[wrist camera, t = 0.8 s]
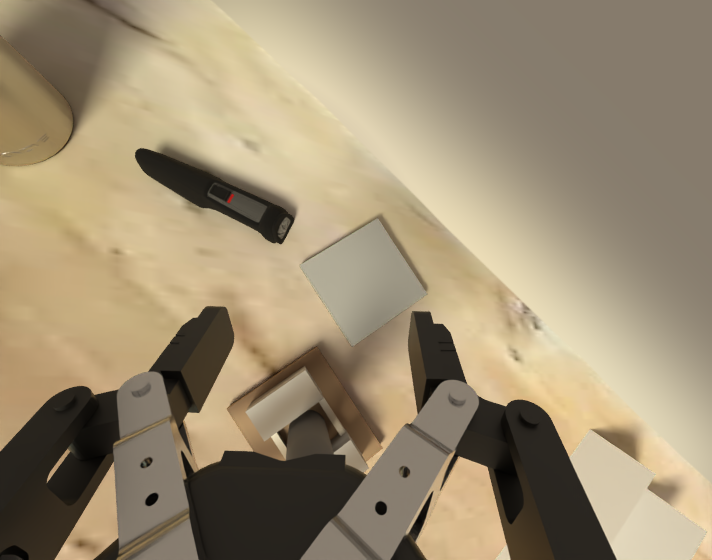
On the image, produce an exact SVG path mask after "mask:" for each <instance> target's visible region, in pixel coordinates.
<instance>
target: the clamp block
mask: <svg viewBox="0 0 712 560" xmlns="http://www.w3.org/2000/svg"><path fill="white" fill-rule="evenodd" d="M227 410H228V412H229V413H230V415H231V417H232V418H233V420H234V421H235V423H236V424H237V426H238V427H239V429H240V431H241V432H242V434H243V435H244V437H245V438H246V440H247V442H248V443H249V445H250V446H251V448H252V449H253V451H254V452H257V453H260V454H263V455H266V456H269V457H272V458H275V459H278V460H281V461H286V451H287V440H288V429H289V424H290V423H291V422H292V421H293V420H295V419H296V418H297V417H299V416H300V415H301V414H303V413H304V412H306V411H307V410H314V411H316V412H318V413H319V414H320V415H321V416H322V417H323V418H324V420H325V423H326V427H327V431H328V434H329V438H330V442H331V445H332V449H333V453H334V454H336V455H346V464H347V465H349V466H352V467H354V468H356V469H358V470H360V471H361V472H363V473H364V472H365V471H366V470H367V469H368V466H367V464H366V461H368V460H369V459H370V458H371V457H372V456H374V455H375V454H376V453H377V452H379V451H380V450H381V449H382V446H381V445H380V443H379V442H378V440H377V439H376V437H375V435H374V434H373V432H372V431H371V429H370V428H369V426H368V425H367V423H366V422H365V420H364V418H363V417H362V415H361V414H360V412H359V411H358V409H357V408H356V406H355V405H354V403H353V401H352V400H351V398H350V397H349V395H348V394H347V392H346V391H345V389H344V388H343V386H342V384H341V383H340V381H339V380H338V378H337V377H336V375H335V374H334V372H333V371H332V369H331V367H330V366H329V364H328V363H327V361H326V360H325V358H324V357H323V355H322V354H321V352H320V350H319V349H318V347H315V348H314V349H312V350H311V351H309V352H308V353H307V354H305V355H304V356H302V357H301V358H299V359H298V360H296V361H295V362H293V363H292V364H290V365H289V366H287V367H286V368H285V369H283V370H282V371H280V372H279V373H277V374H276V375H274V376H273V377H271V378H270V379H268V380H267V381H265V382H264V383H263V384H261V385H260V386H258V387H257V388H255V389H254V390H252V391H251V392H249V393H248V394H246V395H245V396H243V397H242V398H241V399H239V400H238V401H236V402H235V403H233V404H232V405H230V406H229V407H228V408H227Z"/></svg>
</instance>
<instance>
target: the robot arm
mask: <svg viewBox="0 0 712 560" xmlns="http://www.w3.org/2000/svg"><path fill="white" fill-rule="evenodd" d="M72 127H73V115H72V111H71V109H70V106H69V104H68V102H67V101H66V99H65V98H64V97H63V96H62V95H61V94H60V93H59V92H58V91H57V90H56V89H55V88H54V87H53V86H52V85H51V84H50V83H49V82H48V81H47V80H46V79H45V78H44V77H43V76H42V75H41V74H40V73H39V72H38V71H37V70H36V69H35V68H34V67H33V66H32V65H31V64H30V63H29V62H28V61H27V60H26V59H25V58H24V57H23V56H22V55H21V54H20V53H18V52H17V51H16V50H15V49H14V48H13V47H12V46H11V45H10V44H9V43H8V42H7V41H6V40H5V39H4V38H3V37H2V36H1V35H0V164H3V165H8V166H24V165H31V164H35V163H38V162H41V161H44V160H46V159H48V158H49V157H51V156H53V155H54V154H56V153H57V152H58V151H59V150H60V149H62V147H63V146H64V145H65V144H66V142H67V141H68V139H69V137H70V135H71V132H72ZM233 343H234V332H233V329H232V325H231V321H230V318H229V314H228V311H227V309H226V307H216V306H207V307H205V308H204V309H203V311H202V312H201V314H200V315H199V316H198V318H192V319H191V320H190V321H188V322H187V323H186V324H184V325H183V326H182V327H181V328H180V330H179V331H178V332H177V334H176V337H174V338H173V339H172V340H171V342H170V344H169V345H168V346H167V347H166V349H165V350H164V351H163V353H162V354H161V355H160V357H159V358H158V359H157V361H156V362H155V363H154V365H153V366H152V367H151V369H150V370H149V371H148V372H144V373H141V374H138V375H136V376H134V377H132V378H130V379H129V380H127V381H126V382H125V383H124V384H123V385H122V386H121V387H120V389H119V390H115V391H110V392H106V393H101V394H97V395H94V394H93V393H92V391H91V390H90V389H89V388H88V387H85V386H77V387H72V388H69V389H66V390H64V391H62V392H60V393H58V394H56V395H55V396H53V397H52V398H50V399H49V400H48V401H47V402H46V403H45V404H44V405H43V406H42V407H41V408H40V409H39V410H38V411H37V412H36V414H35V415H34V416H33V417H32V418H31V419H30V420H29V421H28V422H27V423H26V424H25V425H24V427H23V428H22V429H21V430H20V431H19V432H18V433H17V434H16V435H15V436H14V437H13V438H12V440H11V441H10V442H9V443H8V444H7V445H6V446H5V447H4V448H3V449H2V450H1V451H0V560H54V559H55V558H56V556H57V554H58V553H59V551H60V549H61V548H62V546H63V544H64V543H65V541H66V539H67V538H68V536H69V535H70V533H71V531H72V530H73V528H74V526H75V525H76V523H77V521H78V520H79V518H80V516H81V515H82V513H83V511H84V510H85V508H86V506H87V505H88V503H89V501H90V500H91V498H92V496H93V495H94V493H95V491H96V490H97V488H98V486H99V485H100V483H101V481H102V480H103V478H104V477H105V475H106V473H107V472H108V470H109V468H110V467H111V465H112V463H113V462H114V470H115V486H116V503H117V520H118V536H119V538H118V539H117V540H116V541H114V542H113V543H112V544H111V545H110V546H109V547H108V548H106V549H105V550H104V551H103V552H102V553H101V554H100V555H98V556H97V557H96V558H95V559H94V560H427V559H426V558H425V556H424V555H423V553H422V552H421V550H420V549H419V547H418V546H417V544H416V543H417V541H418V539H419V537H420V535H421V533H422V532H423V530H424V528H425V526H426V524H427V522H428V520H429V518H430V516H431V514H432V512H433V509H434V507H435V505H436V502H437V500H438V498H439V496H440V494H441V492H442V490H443V488H444V486H445V484H446V483H447V481H448V479H449V477H450V475H451V473H452V471H453V469H454V467H455V465H456V464H457V462H458V460H459V458H460V457H463V458H465V459H468V460H471V461H474V462H476V463H479V464H482V465H484V466H487V467H488V471H489V475H490V479H491V483H492V487H493V491H494V495H495V499H496V503H497V507H498V511H499V515H500V519H501V523H502V527H503V531H504V535H505V539H506V543H507V547H508V551H509V555H510V559H511V560H617V559H616V557H615V554H614V552H613V550H612V548H611V546H610V544H609V542H608V539H607V537H606V535H605V533H604V531H603V529H602V527H601V525H600V522H599V520H598V518H597V516H596V514H595V512H594V510H593V507H592V505H591V503H590V501H589V499H588V497H587V495H586V492H585V490H584V488H583V486H582V484H581V482H580V480H579V478H578V475H577V473H576V471H575V469H574V467H573V465H572V463H571V460H570V458H569V456H568V454H567V452H566V450H565V448H564V446H563V443H562V441H561V439H560V437H559V435H558V433H557V431H556V428H555V426H554V424H553V422H552V420H551V418H550V417H549V415H548V414H547V413H546V412H545V411H544V410H543V409H542V408H541V407H539V406H538V405H536V404H534V403H532V402H529V401H526V400H514V401H511V402H510V403H508V405H507V406H503V405H500V404H496V403H493V402H490V401H487V400H485V399H483V398H481V397H479V396H478V395H477V394H476V392H475V391H474V390H473V389H472V388H471V387H470V386H469V385H467V382H466V380H465V377H464V373H463V370H462V367H461V364H460V361H459V358H458V355H457V352H456V349H455V346H454V344H453V339H452V336H451V333H450V332H449V331H448V329H447V328H446V327H445V326H444V325H443V324H433V320H432V316H431V313H430V312H423V311H412V314H411V322H410V330H409V338H408V351H409V358H410V365H411V372H412V379H413V385H414V392H415V399H416V406H417V412H418V415H417V417H416V418H415V419H414V421H413V422H412V423H411V424H408V423H407V424H405V425H404V426H403V427H402V428H401V430H400V431H399V432H398V434H397V435H396V437H395V438H394V439H393V441H392V442H391V443H390V445H389V446H388V447H387V449H386V450H385V452H384V453H383V454H382V456H381V457H380V458H379V460H378V461H377V462H376V464H375V465H374V467H373V468H372V469H371V471H370V472H369V473H368V475H366V474H364V473H363V472H361V471H360V470H358V469H356V468H354V467H352V466H349V465H347V464H346V455H336V454H313V455H308V456H304V457H300V458H295V459H291V460H286V461H281V460H278V459H275V458H272V457H269V456H266V455H263V454H260V453H257V452H248V451H225V452H224V454H223V457H222V459H221V461H219V462H216V463H213V464H210V465H208V466H206V467H204V468H202V469H200V470H199V469H198V466H197V463H196V460H195V457H194V453H193V449H192V446H191V442H190V438H189V435H188V431H187V427H186V424H185V421H184V418H185V416H186V414H187V413H188V412H192V413H199V412H200V410H201V408H202V406H203V404H204V402H205V400H206V399H207V397H208V395H209V393H210V391H211V389H212V387H213V385H214V383H215V381H216V379H217V377H218V375H219V373H220V371H221V369H222V367H223V365H224V363H225V361H226V359H227V357H228V355H229V353H230V351H231V349H232V347H233ZM67 448H68V450H69V451H70V453H69V454H68V455H67V457H66V458H65V459H64V461H63V462H62V464H61V465H60V466H59V468H58V469H57V470H56V472H55V473H54V474H53V476H52V477H51V478H50V480H49V481H48V483H47V478H48V475H49V473H50V471H51V470H52V468H53V467H54V466H55V464H56V463H57V462H58V460H59V459H60V458H61V456H62V455H63V454H64V452H65V451H66V450H67Z"/></svg>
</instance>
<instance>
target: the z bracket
mask: <svg viewBox="0 0 712 560" xmlns="http://www.w3.org/2000/svg"><path fill="white" fill-rule="evenodd" d="M569 458H570V460H571V463H572V465H573V467H574V469H575V471H576V473H577V475H578V478H579V480H580V482H581V484H582V486H583V488H584V490H585V492H586V495H587V497H588V499H589V501H590V503H591V505H592V507H593V510H594V512H595V514H596V516H597V518H598V520H599V522H600V525H601V527H602V529H603V531H604V533H605V535H606V537H607V539H608V542H609V544H610V546H611V548H612V550H613V552H614V554H615V557H616V559H617V560H692V558H693V556H694V555H695V553H696V551H697V549H698V548H699V546H700V544H701V542H702V540H703V539H704V537H705V535H706V533H707V531H706V530H704V529H703V528H701V527H700V526H699V525H697V524H696V523H694V522H693V521H692V520H690V519H689V518H687V517H686V516H685V515H683V514H682V513H680V512H679V511H678V510H676V509H675V508H673V507H672V506H671V505H669V504H668V503H667V502H665V501H664V500H662V499H661V498H660V497H658V496H657V495H655V494H654V493H653V492H651V491H650V490H648V489H647V487H648V486H649V484H650V483H651V481H652V480H653V478H654V477H655V475H656V474H655V473H654V472H652V471H651V470H649V469H648V468H646V467H645V466H644V465H642V464H641V463H639V462H638V461H636V460H635V459H633V458H632V457H630V456H629V455H627V454H626V453H624V452H623V451H622V450H620V449H619V448H617V447H616V446H614V445H613V444H611V443H610V442H608V441H607V440H605V439H604V438H602V437H601V436H599V435H598V434H597V433H595V432H594V431H592V430H591V429H590V430H589V431H588V433H587V434H586V435H585V437H584V438H583V440H582V441H581V442H580V444H579V445H578V446H577V448H576V449H575V451H574V452H573V453H572V455H571V456H570V457H569ZM495 560H511V559H510V555H509V551H508V547H507V544H506V545H505V547H504V548H503V550H502V551H501V552H500V554H499V555H498V556H497V558H496V559H495Z"/></svg>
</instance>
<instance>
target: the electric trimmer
mask: <svg viewBox="0 0 712 560" xmlns="http://www.w3.org/2000/svg"><path fill="white" fill-rule="evenodd" d="M135 158H136V160H137V162H138V164H139V165H140V167H141V169H142V170H143V171H144V172H145V173H146V174H147V175H148V176H150V177H151V178H153V179H155V180H156V181H158V182H159V183H161V184H163V185H164V186H166V187H167V188H169V189H171V190H172V191H174V192H176V193H177V194H179V195H180V196H182V197H184V198H185V199H187V200H189V201H190V202H192V203H194V204H195V205H197V206H199V207H201V208H210V209H214V210H217V211H219V212H221V213H223V214H225V215H227V216H229V217H231V218H233V219H235V220H237V221H239V222H241V223H243V224H245V225H247V226H249V227H251V228H252V229H254V230H256V231H258V232H259V233H261V234H262V236H263V237H264V238H265V239H267V240H268V241H270V242H272V243H276V242H277V243H279V244H282V243H283V242H284V240H285V238H286V236H287V234H288V232H289V230H290V228H291V226H292V224H293V222H294V218H293V216H292V215H290V214H288V212H287V211H286V210H285V209H283V208H282V207H280V206H277V205H274V204H272V203H270V202H268V201H266V200H264V199H262V198H259V197H257V196H255V195H253V194H250V193H248V192H246V191H243V190H241V189H239V188H237V187H234V186H232V185H230V184H228V183H226V182H224V181H222V180H221V179H220V178H218V177H216V176H213V175H211V174H209V173H207V172H204V171H202V170H199V169H197V168H195V167H192V166H190V165H187V164H185V163H182V162H180V161H178V160H175V159H173V158H170V157H168V156H165V155H163V154H161V153H157V152H154V151H151V150H148V149H144V148H140V149H138V150H137V151H136V152H135Z"/></svg>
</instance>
